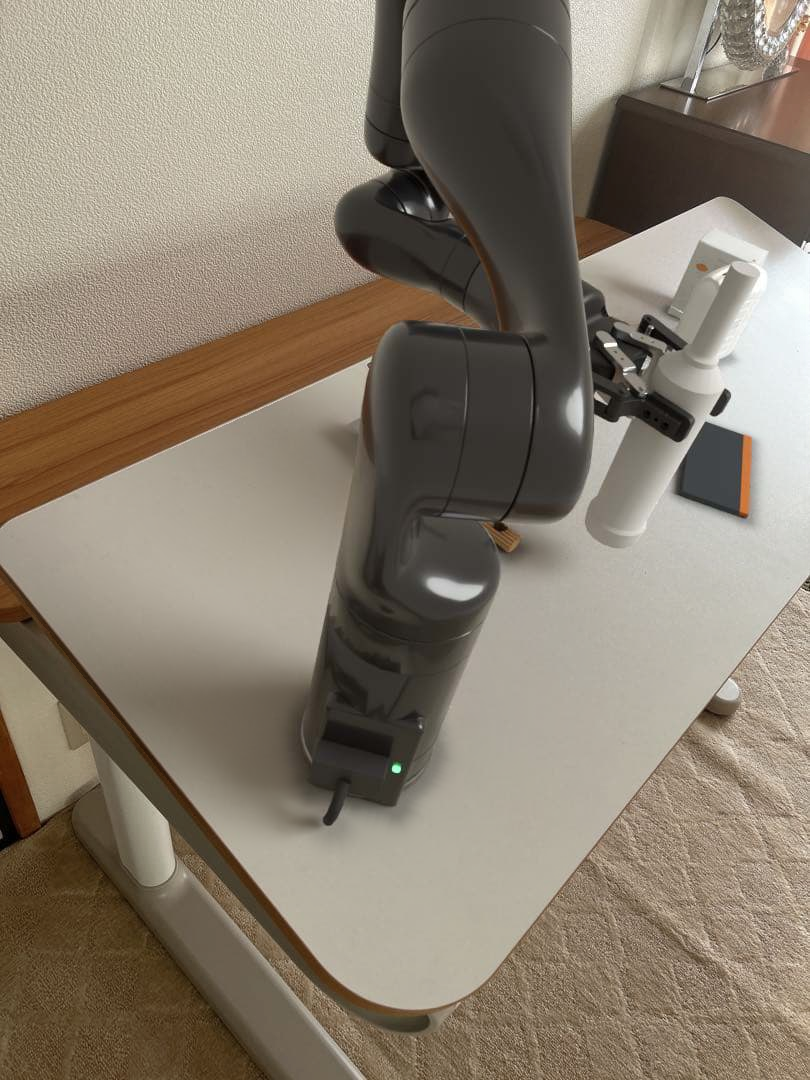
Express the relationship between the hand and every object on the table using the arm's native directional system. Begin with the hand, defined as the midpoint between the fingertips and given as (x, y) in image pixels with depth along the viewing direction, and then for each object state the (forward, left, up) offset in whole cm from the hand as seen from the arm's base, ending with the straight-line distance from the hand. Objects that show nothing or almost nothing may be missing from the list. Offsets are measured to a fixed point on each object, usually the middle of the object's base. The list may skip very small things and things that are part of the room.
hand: (706, 417), depth 66 cm
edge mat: (+21, -11, -19) cm, 30 cm away
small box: (+53, -11, -19) cm, 58 cm away
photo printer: (+43, -10, -19) cm, 48 cm away
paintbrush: (+5, +18, -19) cm, 27 cm away
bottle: (+1, +2, -14) cm, 14 cm away
